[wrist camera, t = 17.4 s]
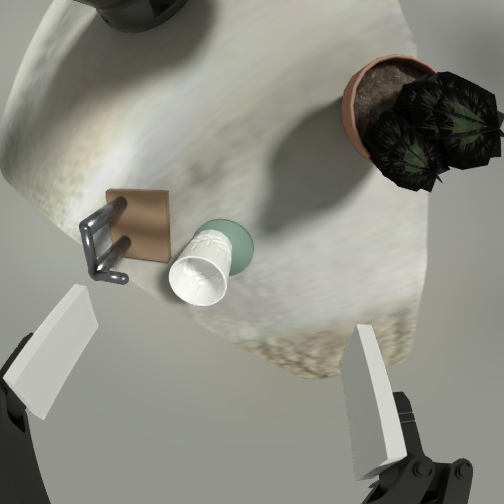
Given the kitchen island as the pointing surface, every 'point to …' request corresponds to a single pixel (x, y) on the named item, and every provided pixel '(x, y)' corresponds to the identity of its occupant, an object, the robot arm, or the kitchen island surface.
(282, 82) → the kitchen island surface
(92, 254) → the bent wire
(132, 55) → the kitchen island surface
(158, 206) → the brown wooden board
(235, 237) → the end coaster
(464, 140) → the potted plant
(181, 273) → the white cup
